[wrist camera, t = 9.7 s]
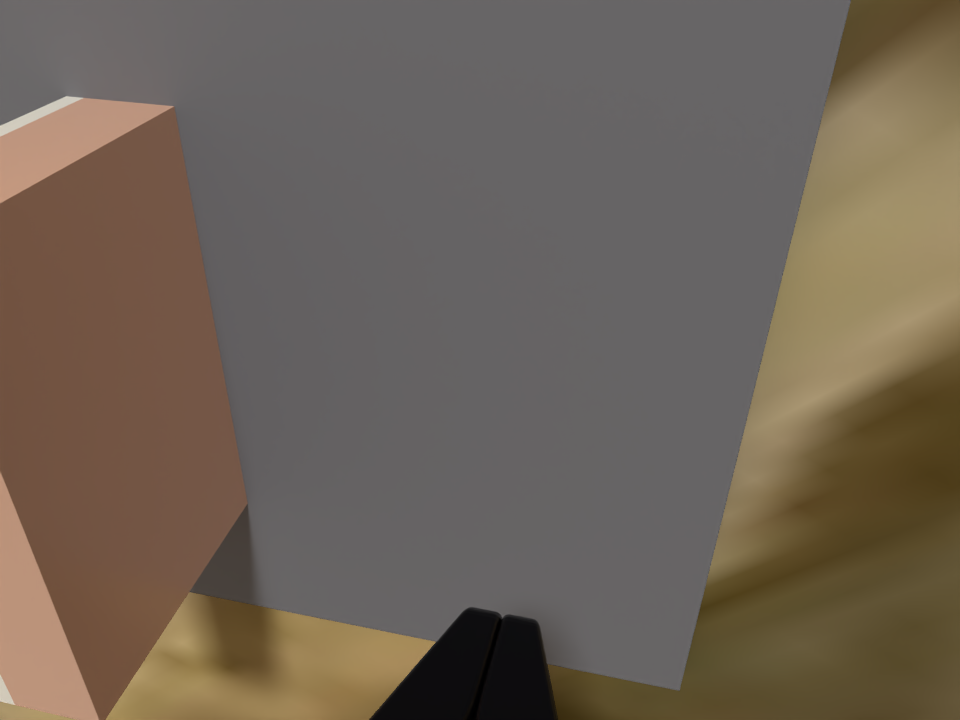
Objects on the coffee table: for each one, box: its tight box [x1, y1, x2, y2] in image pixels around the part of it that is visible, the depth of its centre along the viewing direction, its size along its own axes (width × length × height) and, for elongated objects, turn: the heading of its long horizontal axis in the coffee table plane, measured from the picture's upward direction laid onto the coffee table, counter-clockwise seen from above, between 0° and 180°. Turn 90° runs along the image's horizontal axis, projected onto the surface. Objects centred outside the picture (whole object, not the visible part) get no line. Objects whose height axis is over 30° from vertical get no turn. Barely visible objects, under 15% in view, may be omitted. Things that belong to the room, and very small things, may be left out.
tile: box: [0, 96, 247, 720], centre depth 13 cm, size 2×8×5 cm, turn 178°
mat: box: [0, 0, 851, 690], centre depth 14 cm, size 18×16×1 cm
